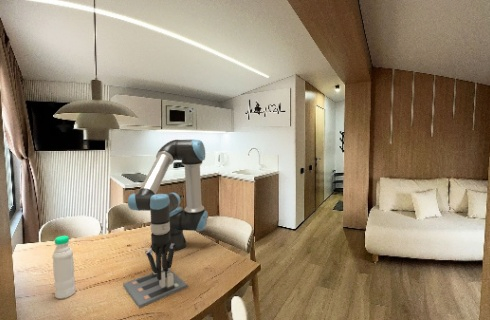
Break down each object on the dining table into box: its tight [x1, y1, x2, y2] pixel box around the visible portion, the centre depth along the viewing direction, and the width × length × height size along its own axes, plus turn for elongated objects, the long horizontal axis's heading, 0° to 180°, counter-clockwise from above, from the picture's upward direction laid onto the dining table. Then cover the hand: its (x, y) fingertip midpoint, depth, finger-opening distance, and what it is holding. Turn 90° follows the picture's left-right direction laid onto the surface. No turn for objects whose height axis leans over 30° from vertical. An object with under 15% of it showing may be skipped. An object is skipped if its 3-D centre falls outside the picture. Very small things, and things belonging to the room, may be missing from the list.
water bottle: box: [51, 235, 76, 300], centre depth 108 cm, size 7×7×25 cm
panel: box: [122, 268, 189, 309], centre depth 114 cm, size 20×21×1 cm
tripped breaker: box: [165, 271, 174, 290], centre depth 111 cm, size 2×3×6 cm
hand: (162, 285), depth 109 cm, fingers closed
